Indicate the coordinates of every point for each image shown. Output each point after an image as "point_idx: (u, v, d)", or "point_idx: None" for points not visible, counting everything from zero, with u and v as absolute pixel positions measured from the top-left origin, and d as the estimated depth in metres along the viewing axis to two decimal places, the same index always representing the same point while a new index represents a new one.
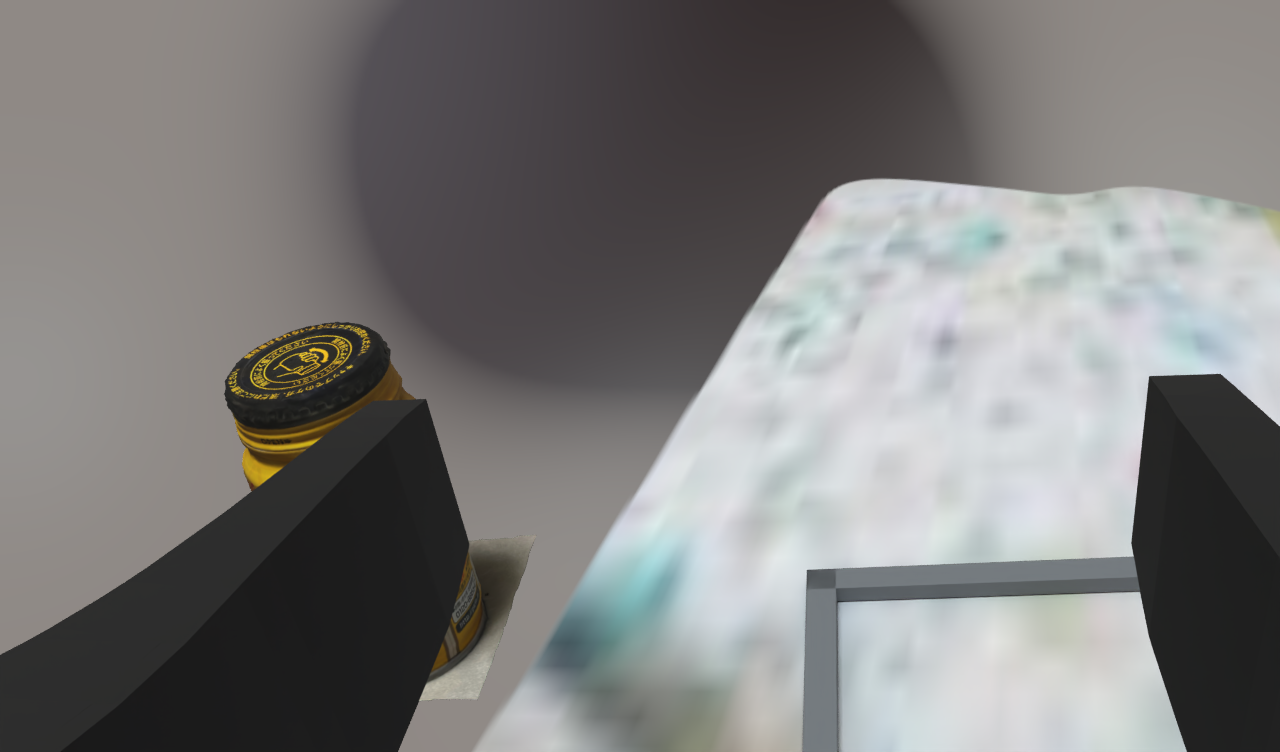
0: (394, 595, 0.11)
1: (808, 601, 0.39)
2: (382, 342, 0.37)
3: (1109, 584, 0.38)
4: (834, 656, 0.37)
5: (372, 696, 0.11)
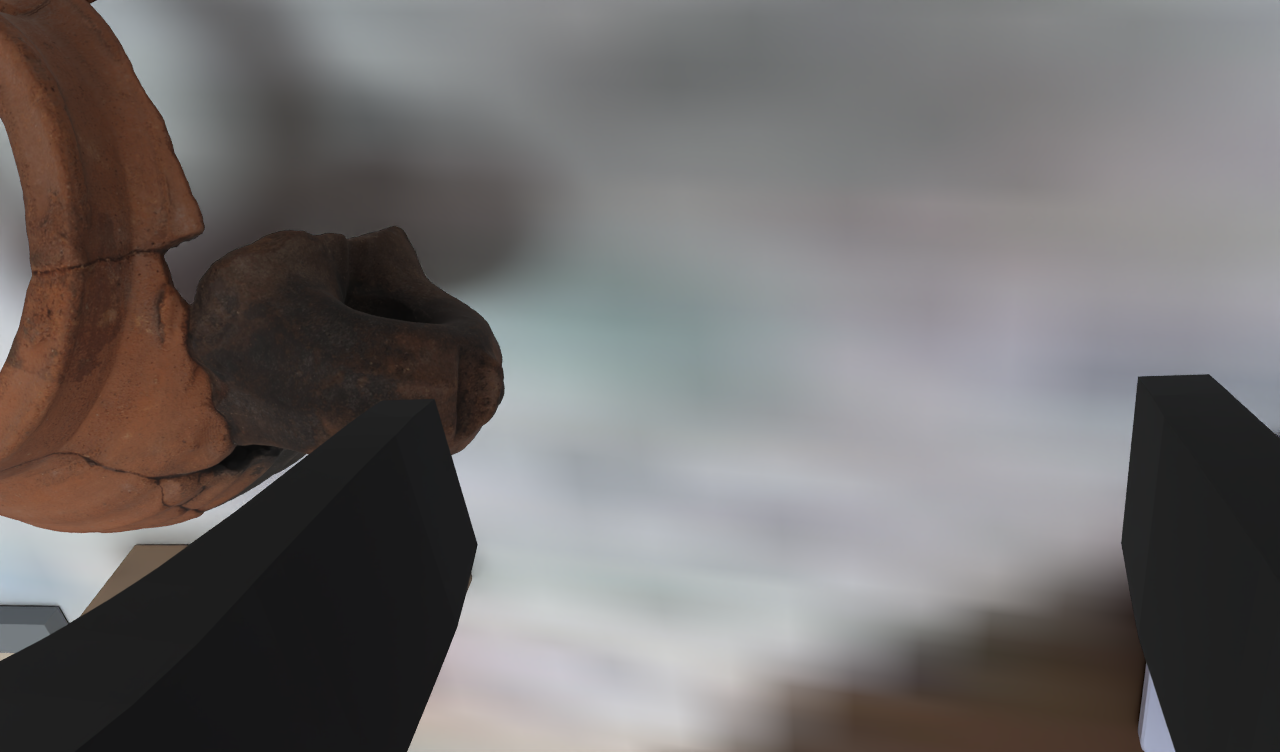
0: (403, 595, 0.11)
1: None
2: None
3: None
4: None
5: (381, 697, 0.11)
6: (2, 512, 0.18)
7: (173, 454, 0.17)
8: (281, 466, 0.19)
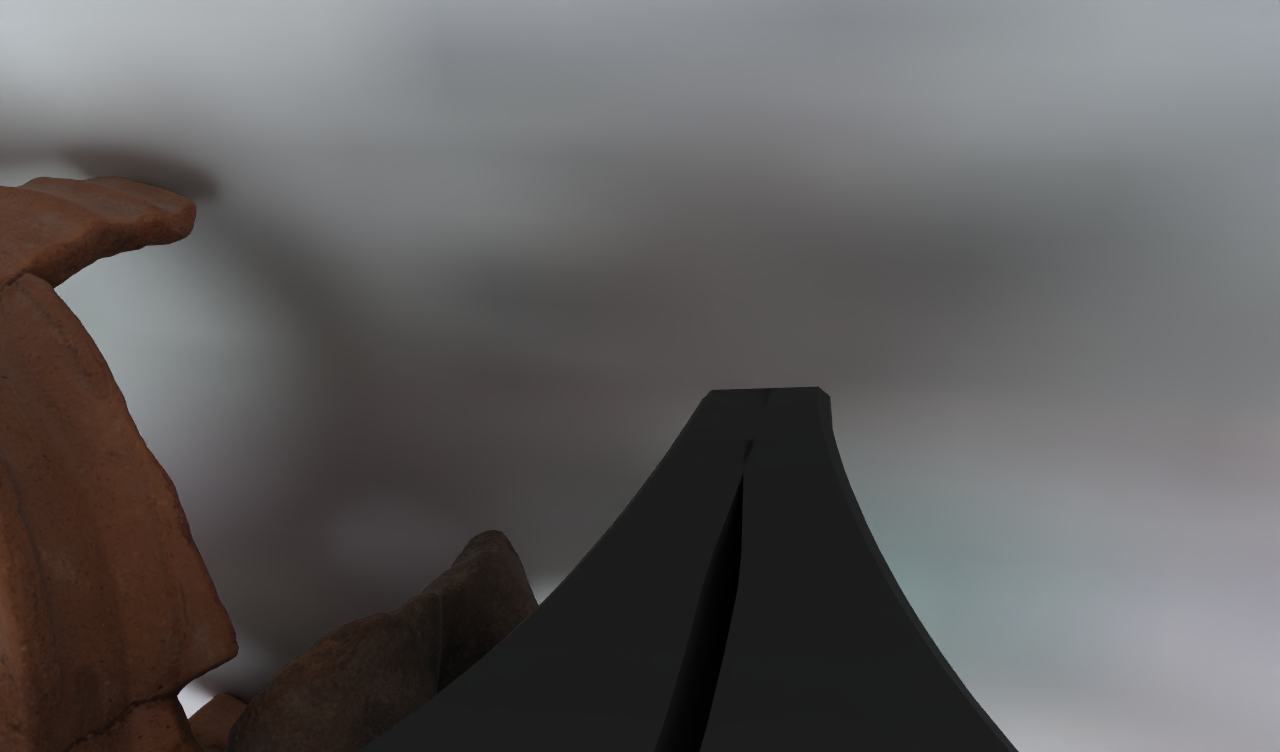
0: None
1: None
2: None
3: None
4: None
5: None
6: None
7: None
8: None
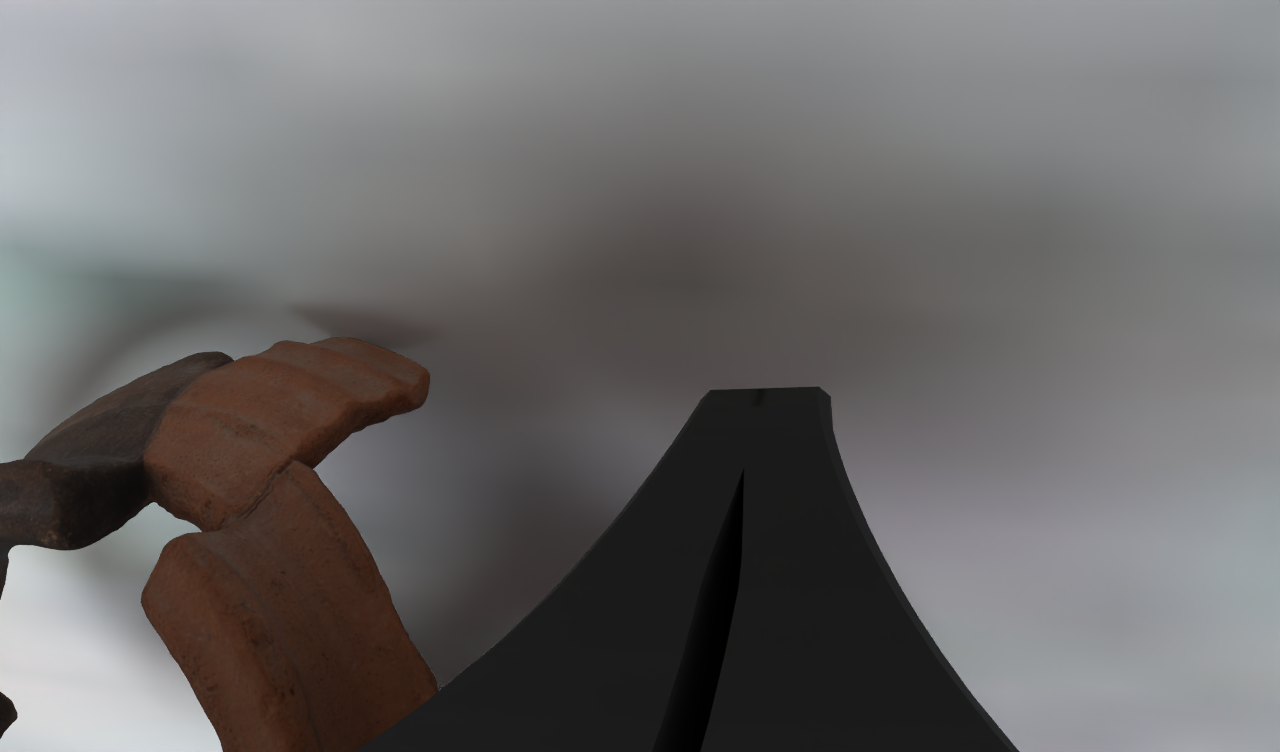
0: None
1: None
2: None
3: None
4: None
5: None
6: None
7: None
8: None
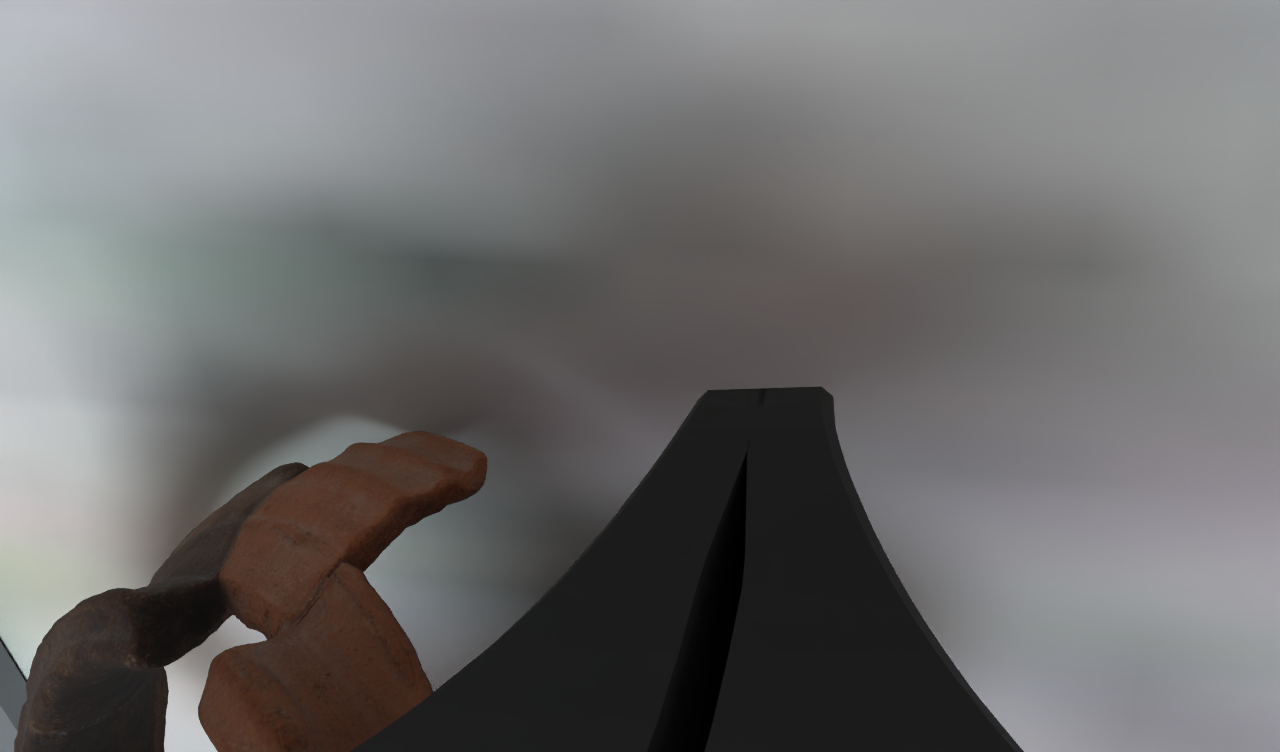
0: None
1: None
2: None
3: None
4: None
5: None
6: None
7: None
8: None
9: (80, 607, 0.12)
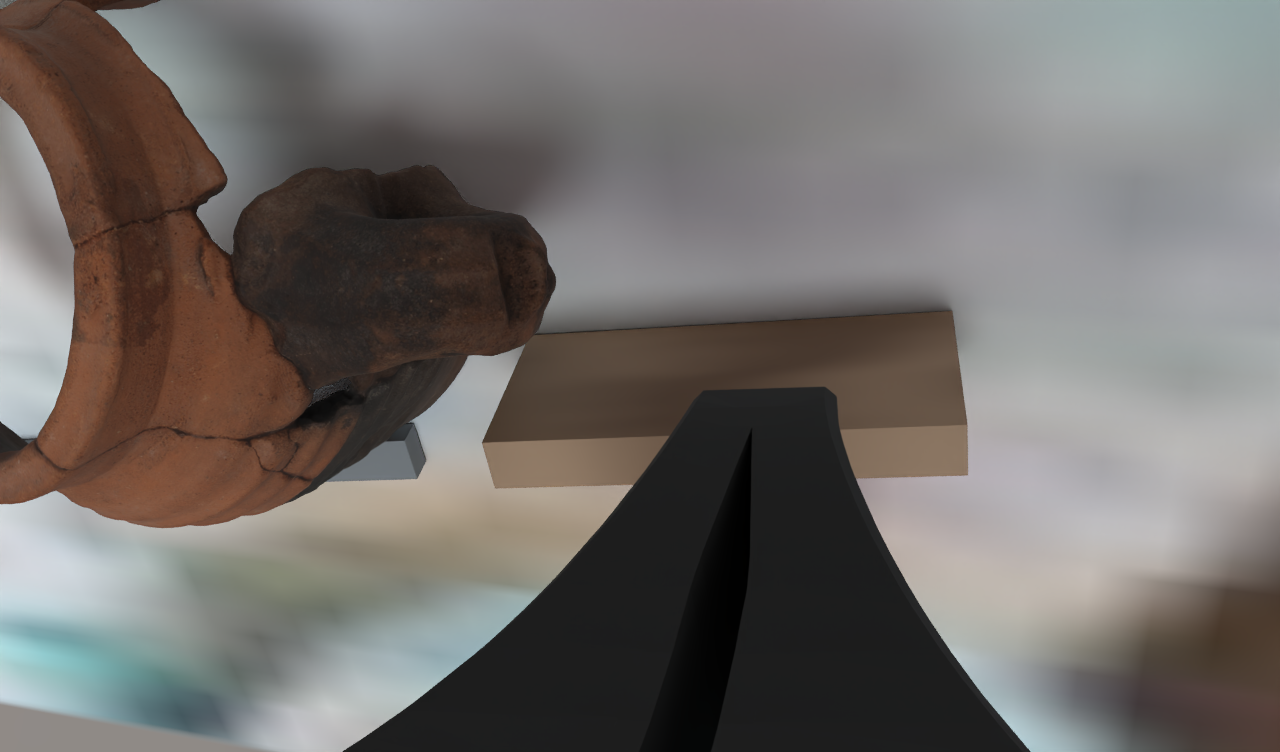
0: None
1: None
2: None
3: None
4: None
5: None
6: (125, 515, 0.19)
7: (254, 410, 0.17)
8: (372, 419, 0.19)
9: None
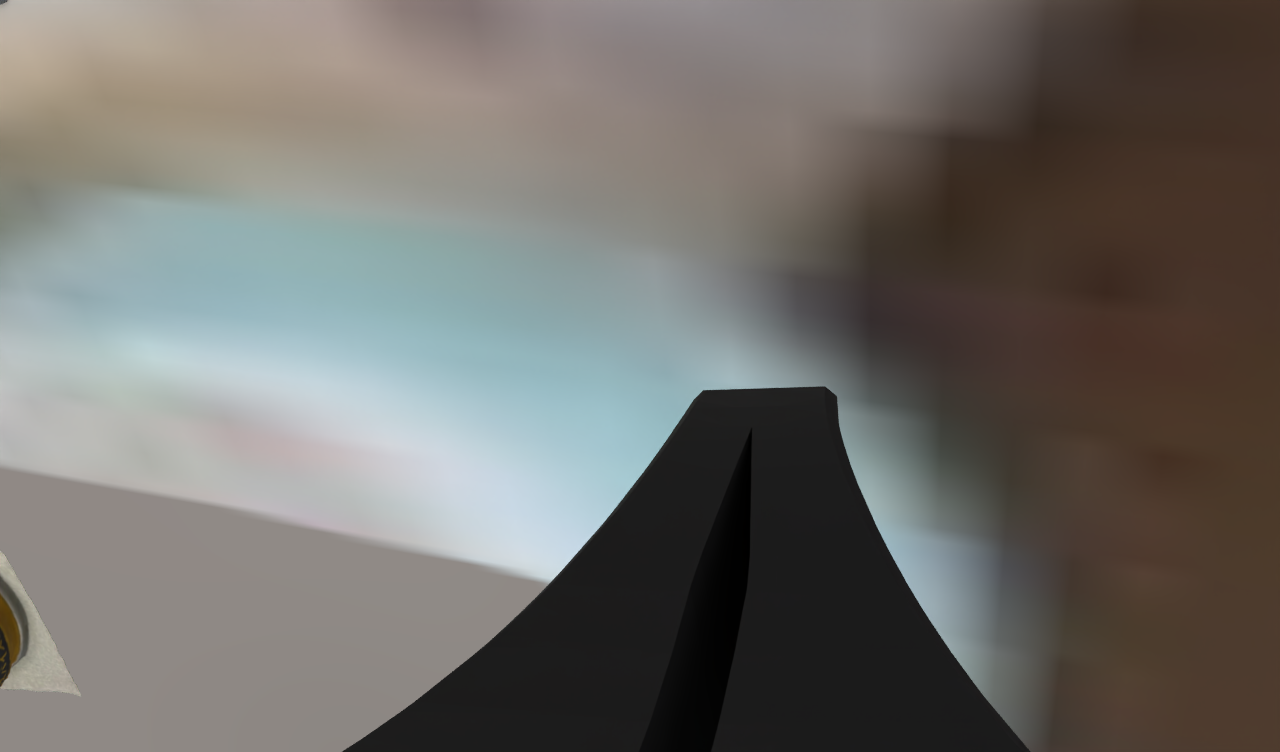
0: None
1: None
2: None
3: None
4: None
5: None
6: None
7: None
8: None
9: None
